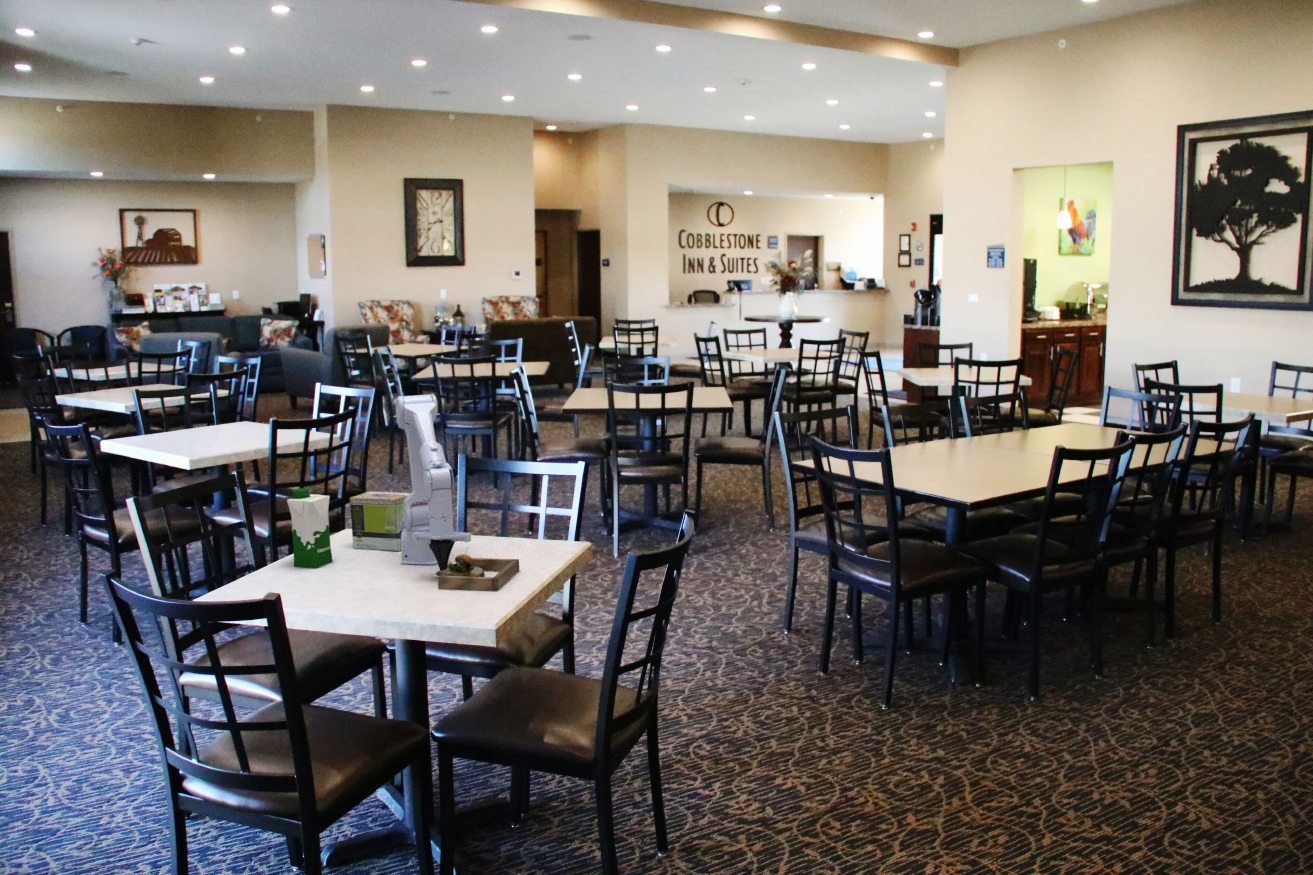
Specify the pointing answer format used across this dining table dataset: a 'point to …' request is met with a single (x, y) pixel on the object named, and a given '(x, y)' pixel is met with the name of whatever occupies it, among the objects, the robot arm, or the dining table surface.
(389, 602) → the dining table surface
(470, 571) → the burger
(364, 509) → the tea box
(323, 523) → the milk carton
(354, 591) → the dining table surface
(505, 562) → the open wooden frame
